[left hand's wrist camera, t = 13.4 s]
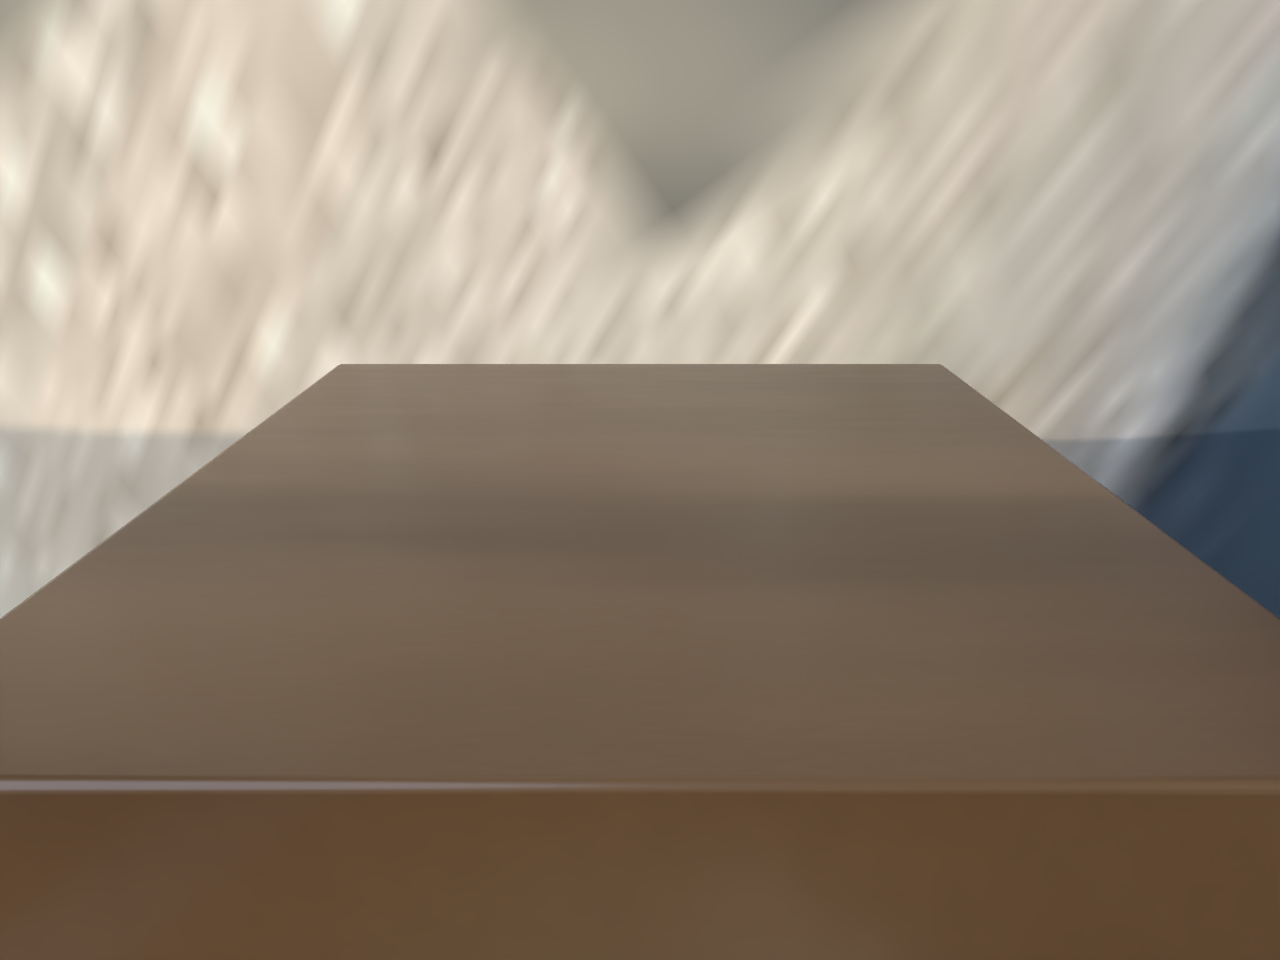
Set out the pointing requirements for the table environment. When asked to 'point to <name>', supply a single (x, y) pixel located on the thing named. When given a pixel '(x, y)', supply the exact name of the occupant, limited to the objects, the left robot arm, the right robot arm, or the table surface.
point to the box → (640, 689)
